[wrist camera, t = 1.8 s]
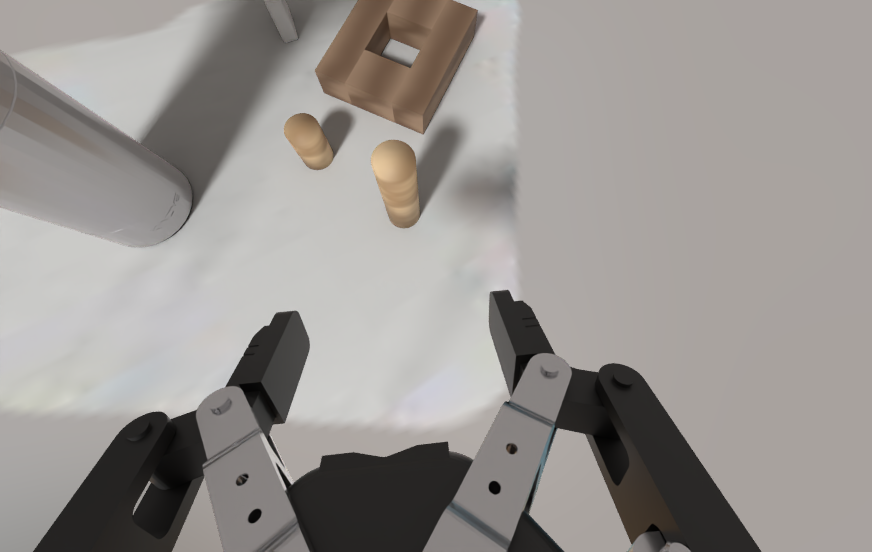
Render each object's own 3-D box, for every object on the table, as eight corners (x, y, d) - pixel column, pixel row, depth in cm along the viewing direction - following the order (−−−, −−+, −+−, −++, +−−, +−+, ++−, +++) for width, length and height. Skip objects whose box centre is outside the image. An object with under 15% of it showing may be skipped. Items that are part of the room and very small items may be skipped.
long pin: (383, 220, 33) (363, 169, 23) (396, 193, 33) (383, 133, 23) (411, 233, 32) (403, 187, 23) (424, 206, 33) (423, 150, 23)
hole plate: (324, 92, 35) (314, 70, 32) (380, -1, 38) (376, -30, 35) (423, 134, 34) (422, 115, 32) (473, 36, 37) (477, 10, 34)
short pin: (297, 162, 34) (277, 136, 29) (312, 138, 34) (294, 108, 30) (324, 174, 33) (308, 149, 29) (338, 149, 34) (325, 121, 30)
